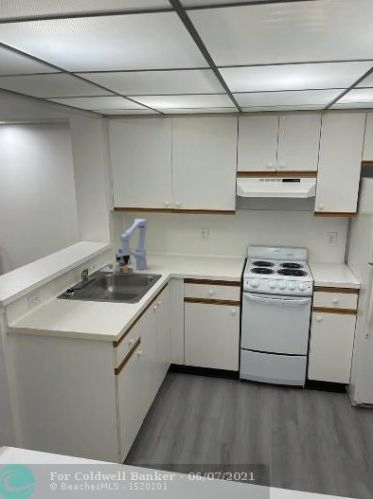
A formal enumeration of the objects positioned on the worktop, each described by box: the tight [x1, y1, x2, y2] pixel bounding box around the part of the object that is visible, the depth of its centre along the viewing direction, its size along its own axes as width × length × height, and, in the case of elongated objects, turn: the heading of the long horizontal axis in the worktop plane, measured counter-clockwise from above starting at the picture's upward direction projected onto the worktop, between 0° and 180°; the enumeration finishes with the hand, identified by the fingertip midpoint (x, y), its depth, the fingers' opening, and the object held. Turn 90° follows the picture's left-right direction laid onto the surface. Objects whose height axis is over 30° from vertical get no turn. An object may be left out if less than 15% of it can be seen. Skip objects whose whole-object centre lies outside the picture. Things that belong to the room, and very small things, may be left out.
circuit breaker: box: [115, 247, 132, 267], centre depth 325 cm, size 8×14×15 cm, turn 152°
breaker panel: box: [112, 264, 134, 277], centre depth 303 cm, size 16×18×4 cm
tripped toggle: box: [122, 266, 129, 273], centre depth 297 cm, size 4×3×4 cm
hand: (126, 264), depth 296 cm, fingers closed
